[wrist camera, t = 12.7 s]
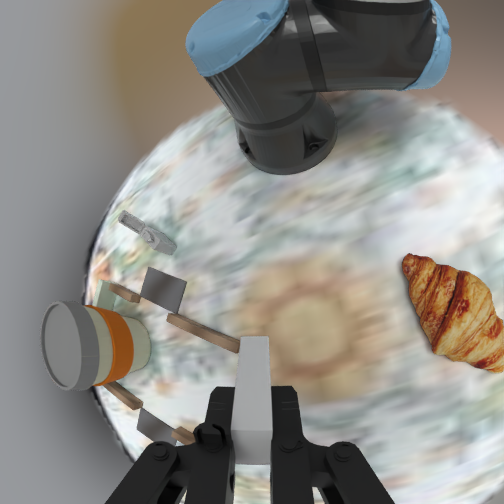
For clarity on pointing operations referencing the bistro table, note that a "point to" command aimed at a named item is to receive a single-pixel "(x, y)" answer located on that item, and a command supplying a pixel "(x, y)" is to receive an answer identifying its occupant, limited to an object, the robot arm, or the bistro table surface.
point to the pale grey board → (104, 295)
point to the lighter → (147, 233)
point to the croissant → (456, 313)
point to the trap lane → (169, 297)
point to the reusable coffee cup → (90, 345)
